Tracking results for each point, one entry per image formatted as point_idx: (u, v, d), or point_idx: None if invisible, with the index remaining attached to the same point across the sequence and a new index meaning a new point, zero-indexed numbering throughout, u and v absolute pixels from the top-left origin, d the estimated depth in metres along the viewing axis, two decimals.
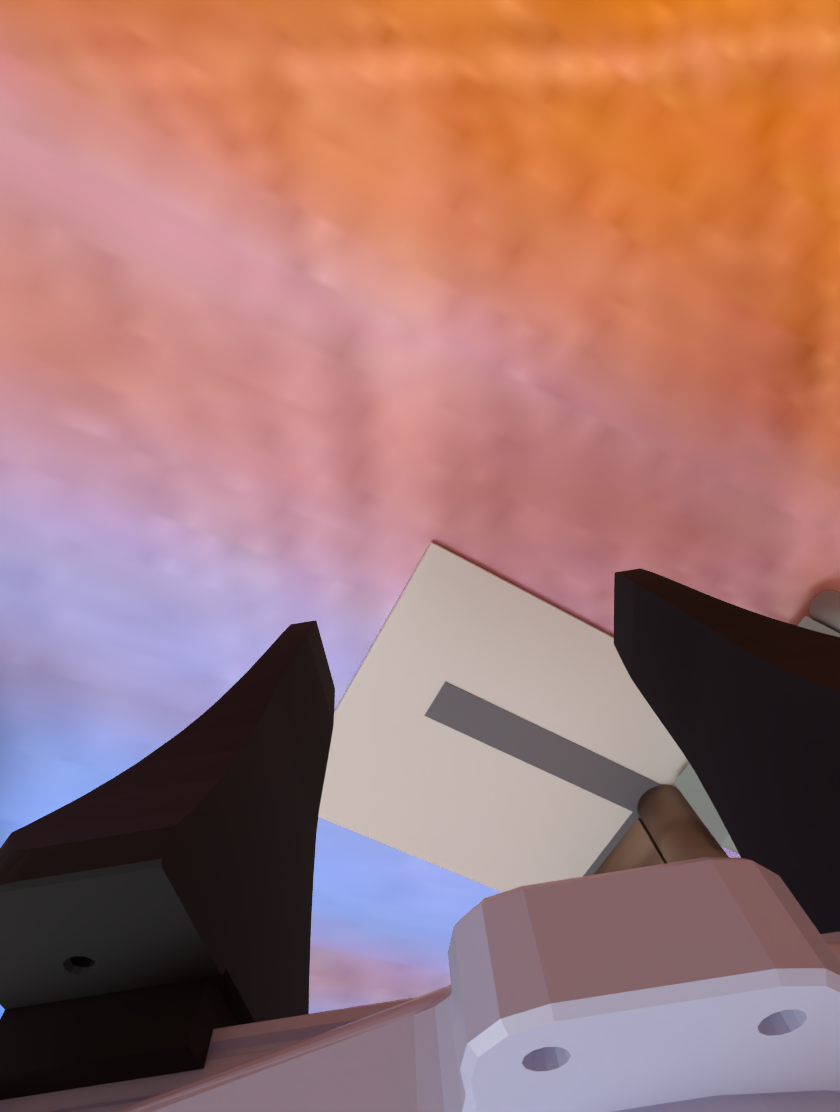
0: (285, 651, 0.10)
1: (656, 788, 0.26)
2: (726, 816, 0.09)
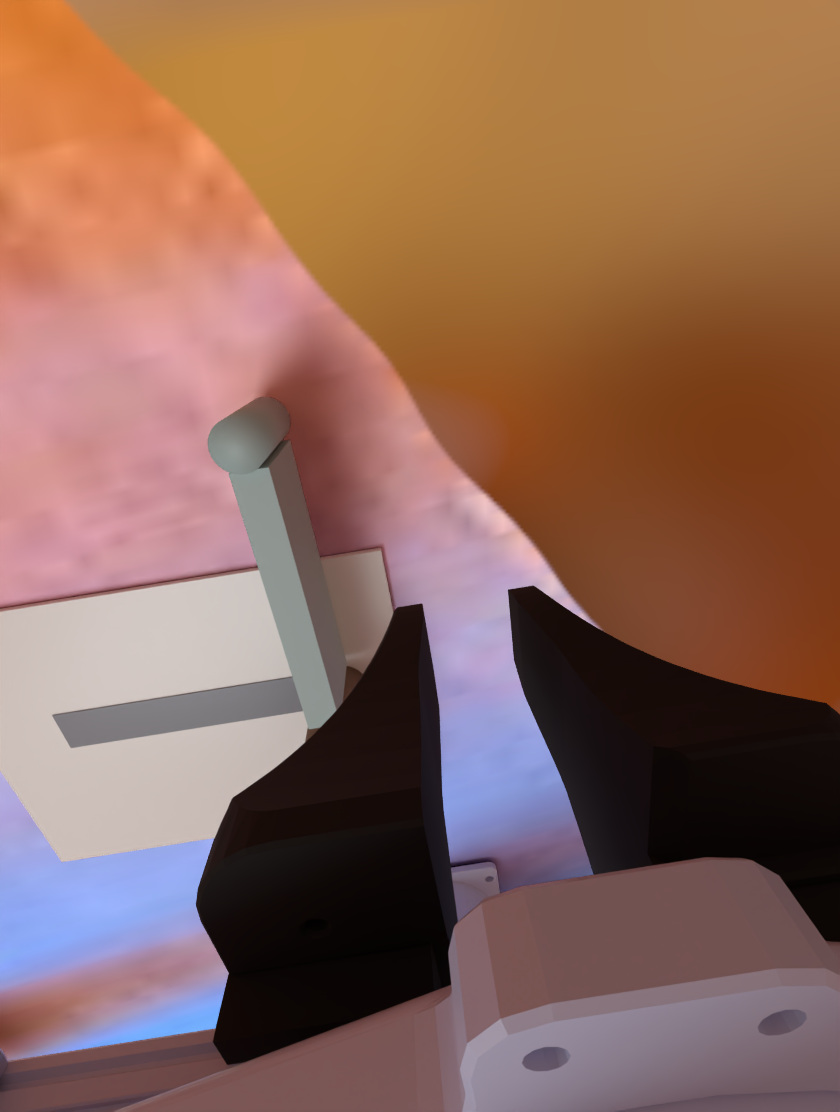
0: (408, 631, 0.10)
1: None
2: (585, 838, 0.09)
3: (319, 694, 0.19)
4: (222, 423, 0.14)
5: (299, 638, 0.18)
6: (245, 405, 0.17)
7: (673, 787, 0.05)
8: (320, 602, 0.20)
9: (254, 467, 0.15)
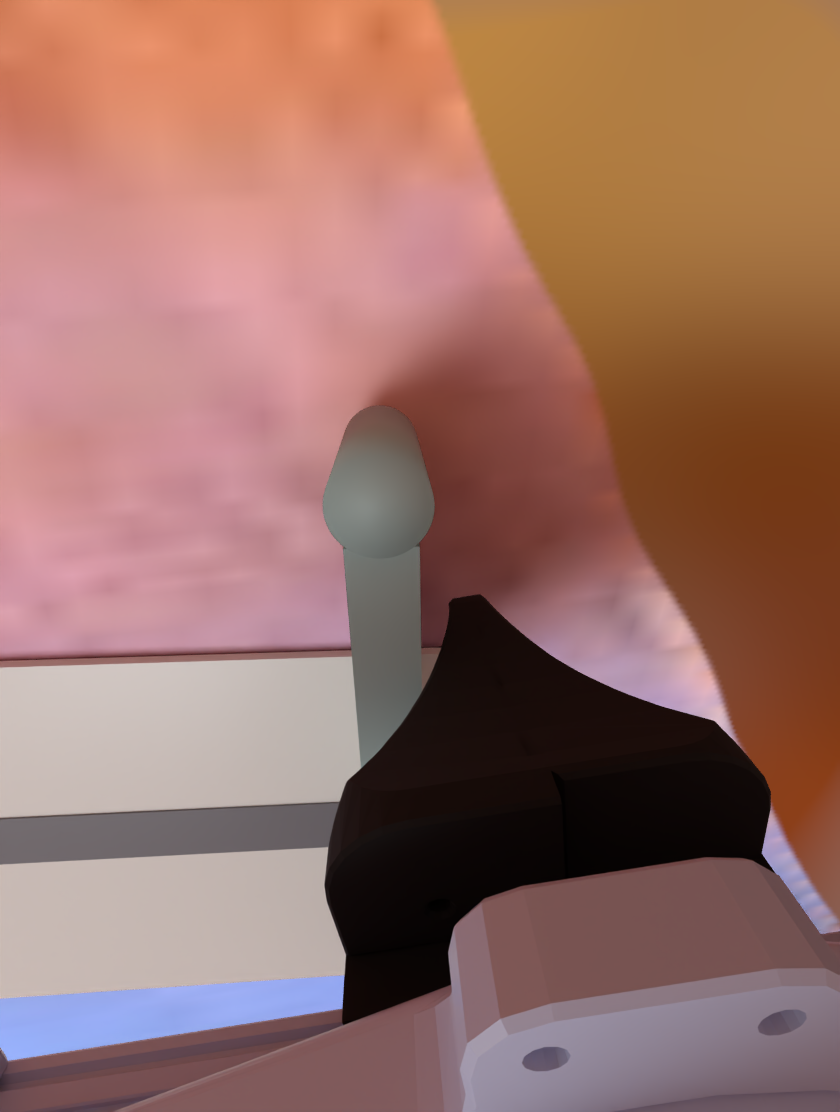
0: (473, 621, 0.10)
1: None
2: None
3: None
4: (361, 460, 0.07)
5: None
6: (368, 420, 0.10)
7: None
8: None
9: (402, 548, 0.08)
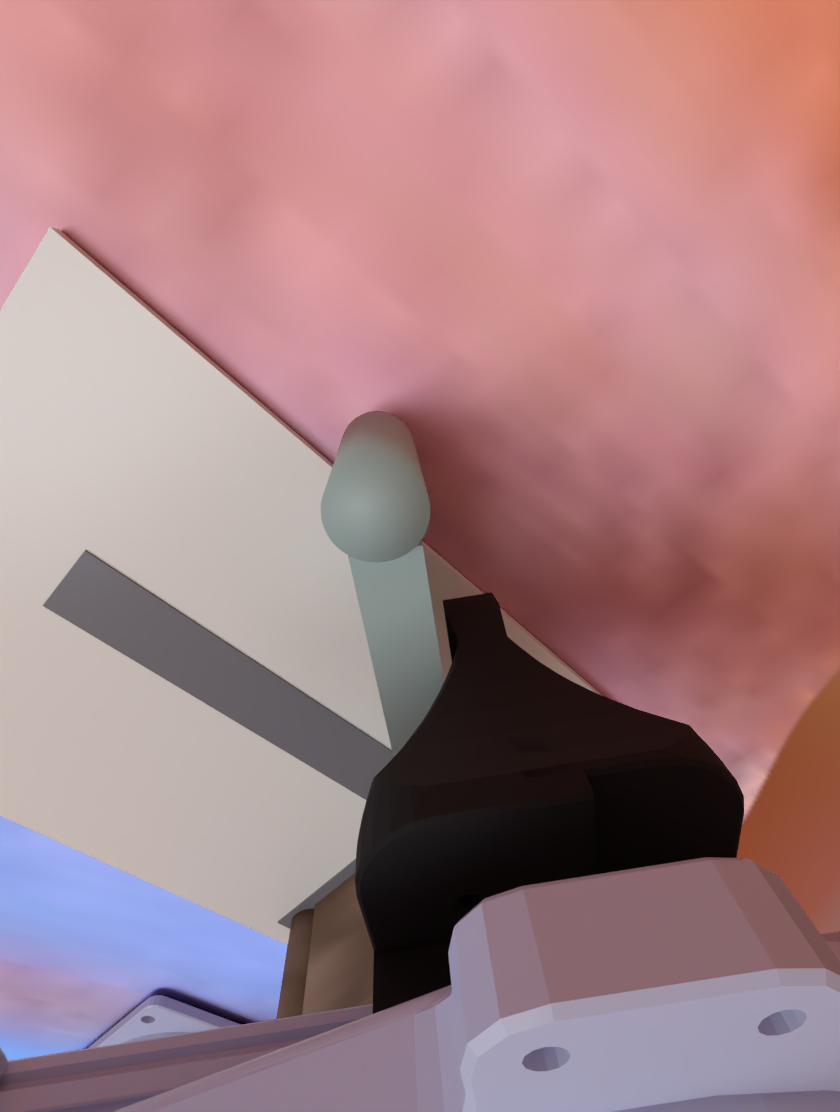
0: (488, 618, 0.10)
1: None
2: None
3: None
4: (351, 468, 0.07)
5: None
6: (360, 427, 0.10)
7: None
8: None
9: (404, 549, 0.08)
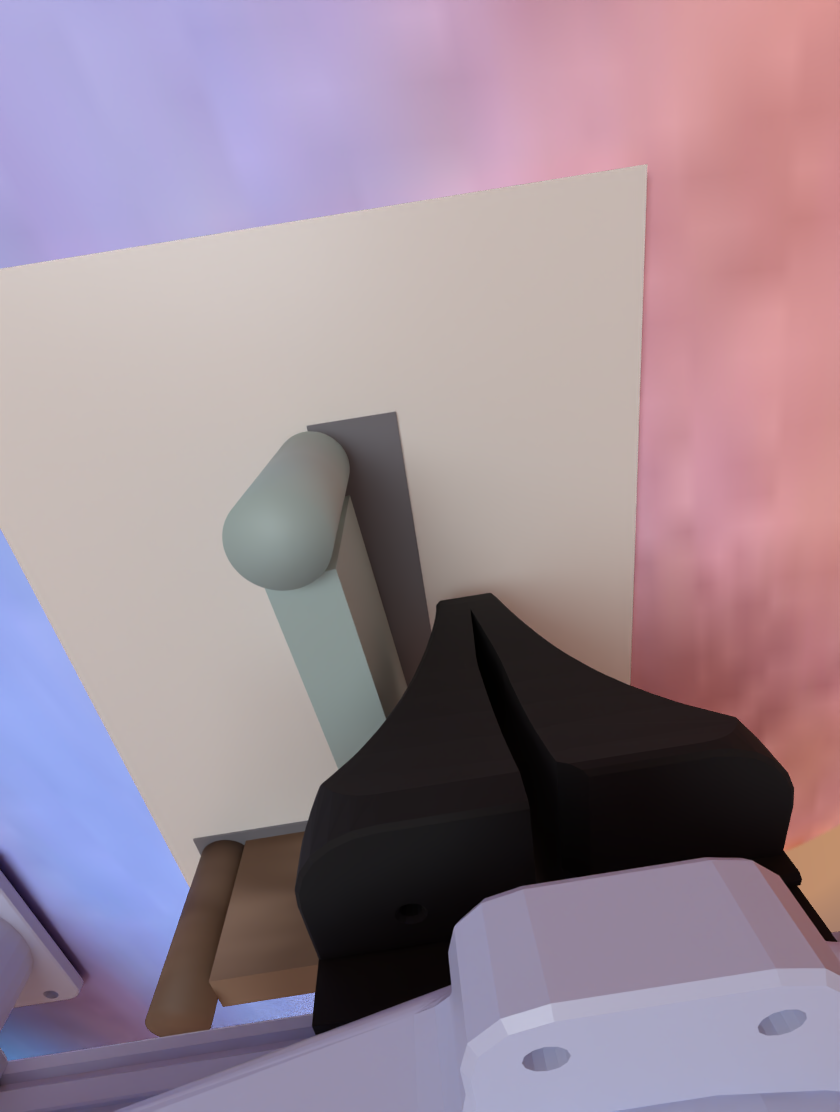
0: (458, 623, 0.10)
1: None
2: None
3: None
4: (246, 502, 0.07)
5: None
6: (280, 452, 0.10)
7: (577, 802, 0.05)
8: None
9: (312, 576, 0.08)
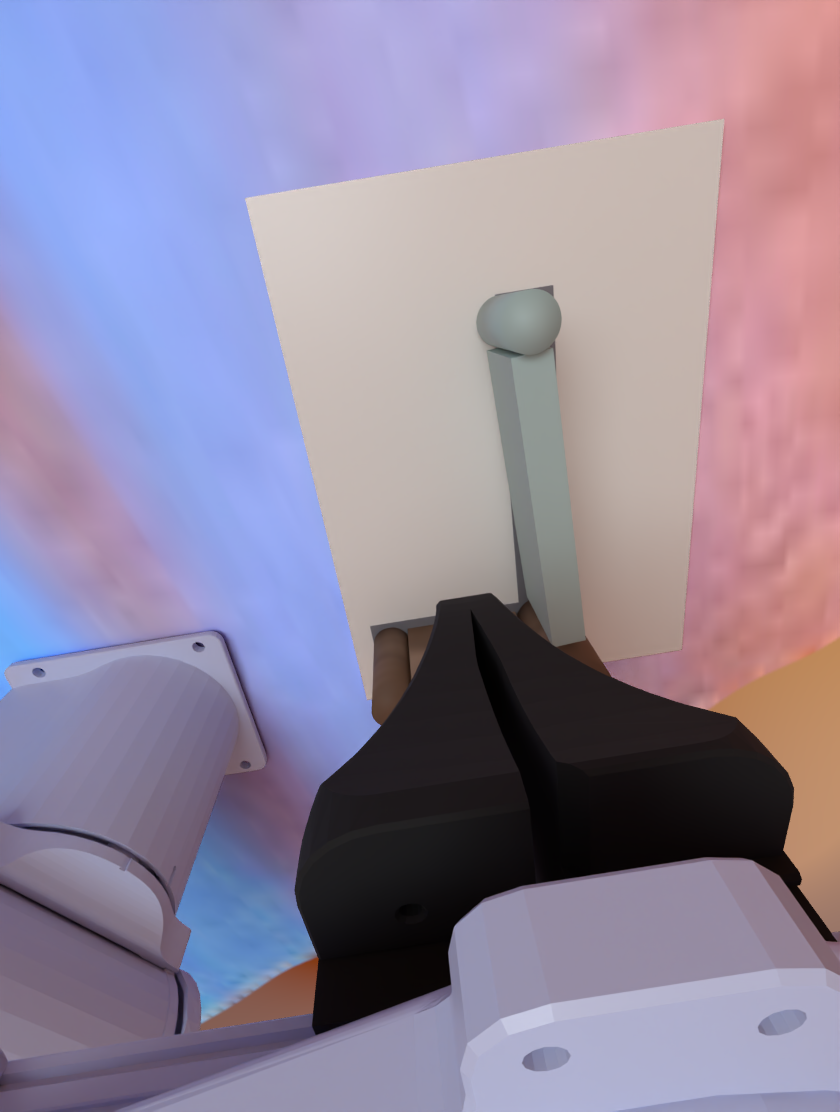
0: (458, 623, 0.10)
1: None
2: None
3: (569, 607, 0.18)
4: (519, 296, 0.13)
5: (557, 544, 0.17)
6: (500, 296, 0.16)
7: (576, 802, 0.05)
8: None
9: (546, 345, 0.14)
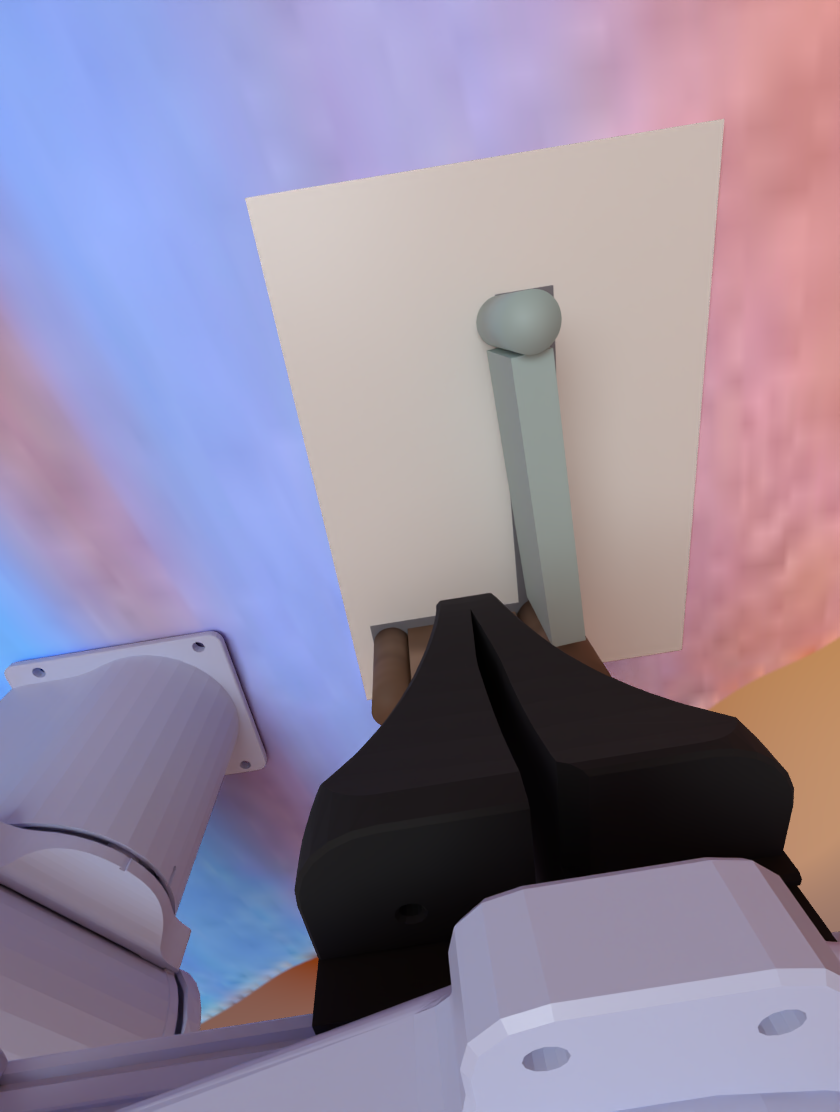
0: (458, 623, 0.10)
1: None
2: None
3: (569, 607, 0.18)
4: (519, 296, 0.13)
5: (557, 544, 0.17)
6: (500, 296, 0.16)
7: (576, 802, 0.05)
8: None
9: (546, 345, 0.14)
